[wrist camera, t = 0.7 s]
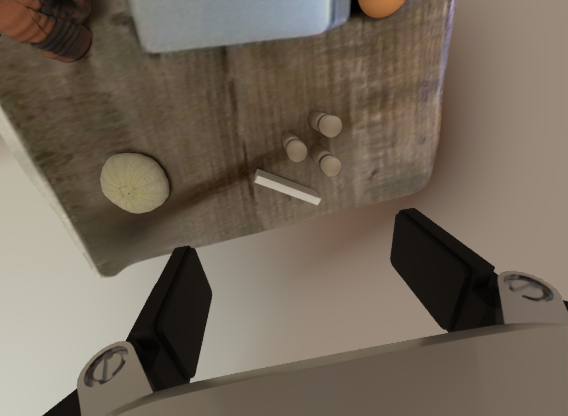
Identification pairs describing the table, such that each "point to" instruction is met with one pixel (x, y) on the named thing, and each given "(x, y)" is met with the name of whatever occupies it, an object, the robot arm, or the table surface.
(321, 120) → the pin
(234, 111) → the table surface
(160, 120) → the table surface
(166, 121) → the table surface
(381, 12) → the ball
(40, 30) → the rust brown arched piece
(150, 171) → the sea urchin shell
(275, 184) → the rail
